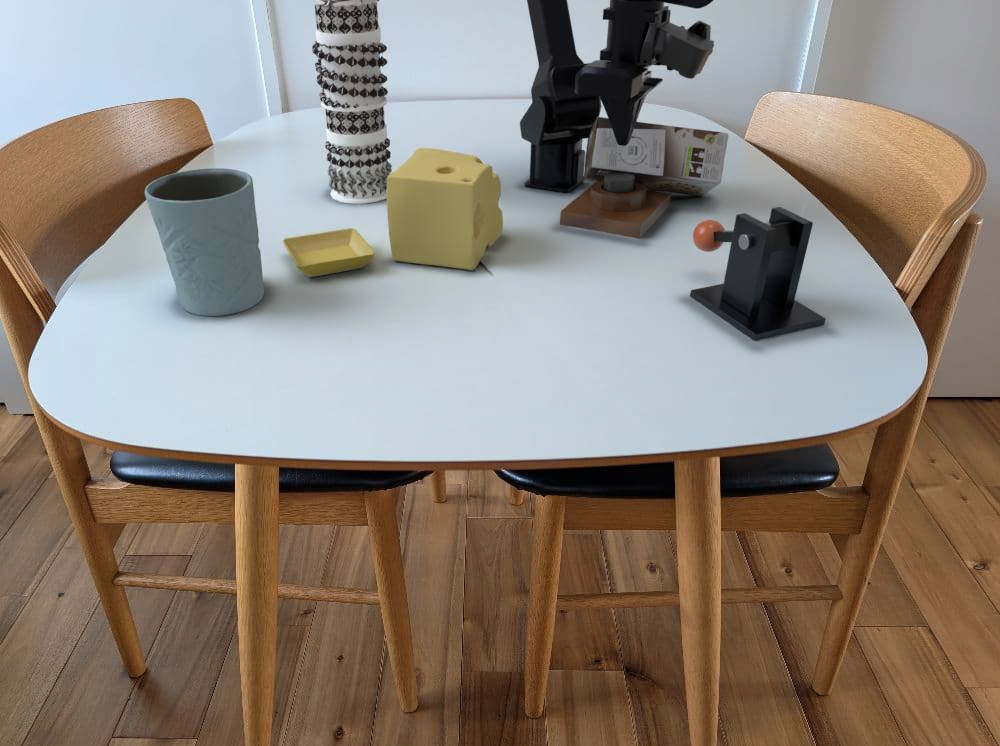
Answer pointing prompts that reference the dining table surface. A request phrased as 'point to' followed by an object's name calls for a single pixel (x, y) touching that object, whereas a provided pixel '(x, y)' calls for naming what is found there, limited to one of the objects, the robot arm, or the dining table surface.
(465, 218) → the cheese
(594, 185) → the button block
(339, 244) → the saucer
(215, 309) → the grey green cup
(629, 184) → the button
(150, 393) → the dining table surface
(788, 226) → the lever
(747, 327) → the bracket
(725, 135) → the coffee box
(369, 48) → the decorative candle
